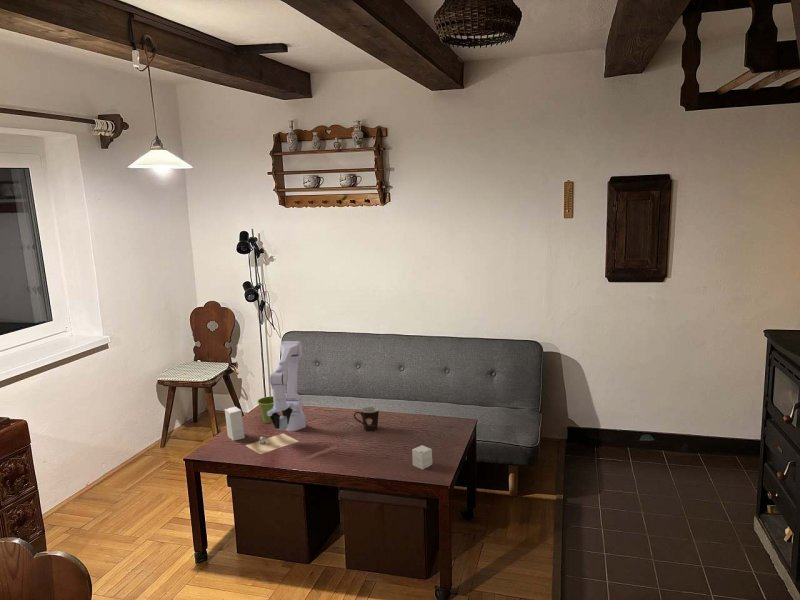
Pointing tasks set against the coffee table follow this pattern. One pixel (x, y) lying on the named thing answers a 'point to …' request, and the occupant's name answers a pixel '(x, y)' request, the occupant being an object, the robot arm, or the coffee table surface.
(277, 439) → the board
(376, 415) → the coffee mug
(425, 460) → the skincare box
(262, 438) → the stud
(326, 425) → the coffee table surface
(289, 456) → the coffee table surface
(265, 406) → the plant pot
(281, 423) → the cap
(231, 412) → the skincare box
